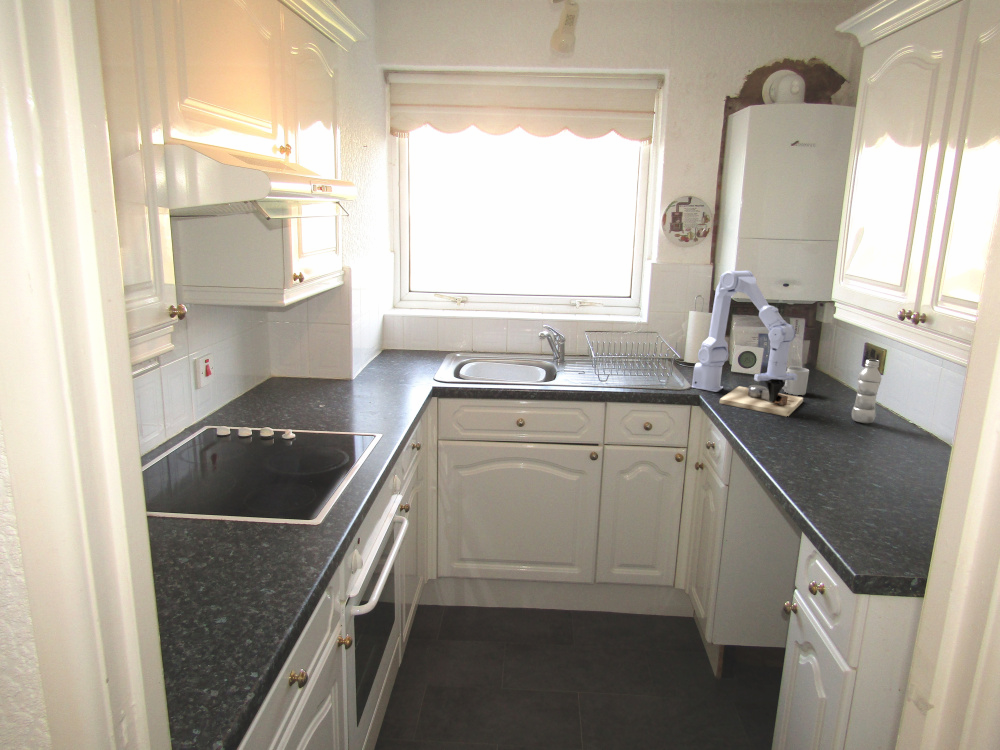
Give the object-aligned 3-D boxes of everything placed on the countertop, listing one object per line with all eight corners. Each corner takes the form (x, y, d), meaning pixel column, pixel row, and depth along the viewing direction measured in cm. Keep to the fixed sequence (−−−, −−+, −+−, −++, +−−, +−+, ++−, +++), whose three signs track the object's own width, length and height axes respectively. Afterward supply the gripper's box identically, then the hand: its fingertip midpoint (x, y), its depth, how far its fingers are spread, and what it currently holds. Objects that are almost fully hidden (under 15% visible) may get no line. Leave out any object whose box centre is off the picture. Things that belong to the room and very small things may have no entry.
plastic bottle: (876, 426, 212) (888, 363, 207) (853, 424, 213) (864, 361, 208) (870, 420, 218) (881, 359, 213) (847, 418, 219) (857, 357, 214)
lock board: (719, 403, 230) (719, 398, 230) (738, 390, 248) (738, 386, 248) (787, 416, 218) (788, 412, 218) (802, 401, 236) (803, 397, 236)
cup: (809, 396, 244) (812, 371, 242) (781, 395, 244) (784, 370, 242) (800, 390, 251) (803, 367, 249) (773, 389, 251) (776, 366, 249)
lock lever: (743, 394, 236) (745, 385, 235) (756, 392, 239) (758, 384, 238) (777, 406, 223) (778, 397, 222) (791, 404, 225) (792, 396, 225)
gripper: (765, 364, 217) (759, 405, 221) (805, 364, 220) (799, 404, 224) (752, 359, 224) (747, 399, 227) (791, 359, 227) (786, 398, 230)
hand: (772, 401), depth 226 cm, fingers closed
